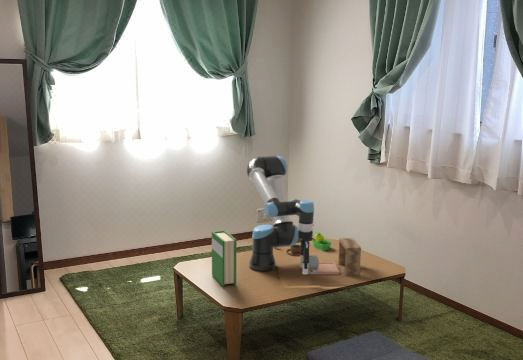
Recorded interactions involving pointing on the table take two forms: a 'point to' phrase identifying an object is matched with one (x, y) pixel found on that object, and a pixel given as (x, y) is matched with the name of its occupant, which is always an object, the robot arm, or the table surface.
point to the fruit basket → (321, 242)
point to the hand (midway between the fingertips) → (303, 270)
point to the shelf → (349, 256)
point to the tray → (327, 269)
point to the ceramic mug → (312, 263)
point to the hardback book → (224, 257)
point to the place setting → (294, 250)
